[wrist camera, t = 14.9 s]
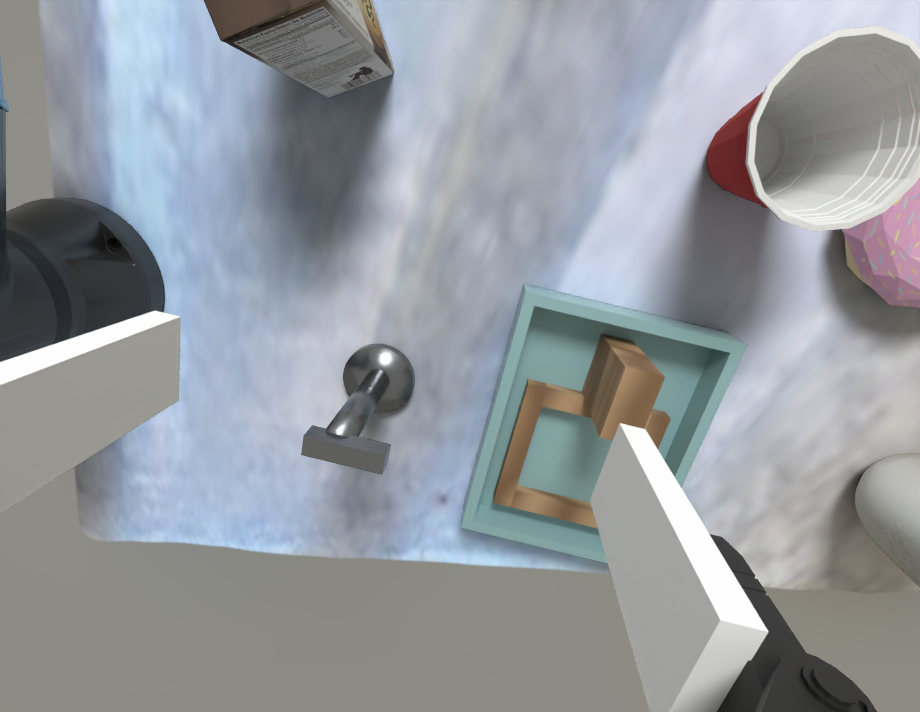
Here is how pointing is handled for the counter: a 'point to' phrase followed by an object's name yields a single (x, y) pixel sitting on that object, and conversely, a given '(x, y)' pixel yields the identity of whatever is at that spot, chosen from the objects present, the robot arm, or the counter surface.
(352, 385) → the grey metal stand
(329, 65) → the coffee box
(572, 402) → the ring
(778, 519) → the counter surface
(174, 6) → the counter surface
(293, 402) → the counter surface
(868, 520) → the glass bottle
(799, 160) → the plastic cup
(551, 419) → the tray
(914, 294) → the donut
